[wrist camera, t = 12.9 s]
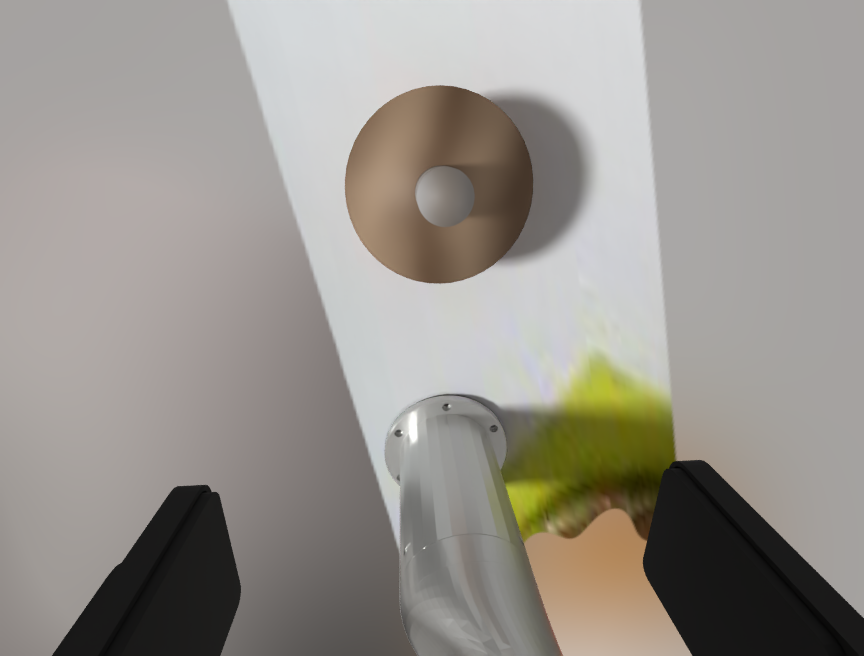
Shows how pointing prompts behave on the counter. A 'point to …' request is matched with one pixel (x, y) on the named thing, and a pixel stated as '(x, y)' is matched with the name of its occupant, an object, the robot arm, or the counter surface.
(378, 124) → the lid
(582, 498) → the counter surface
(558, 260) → the counter surface
